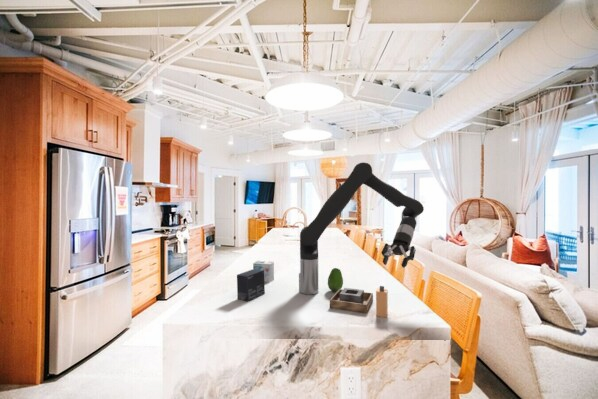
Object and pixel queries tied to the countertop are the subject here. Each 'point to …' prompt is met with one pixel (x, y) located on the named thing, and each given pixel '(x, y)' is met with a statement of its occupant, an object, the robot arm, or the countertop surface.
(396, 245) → the robot arm
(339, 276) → the avocado
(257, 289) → the small box
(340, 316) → the countertop surface
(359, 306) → the walled tray
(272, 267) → the light bulb box
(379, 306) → the plug
